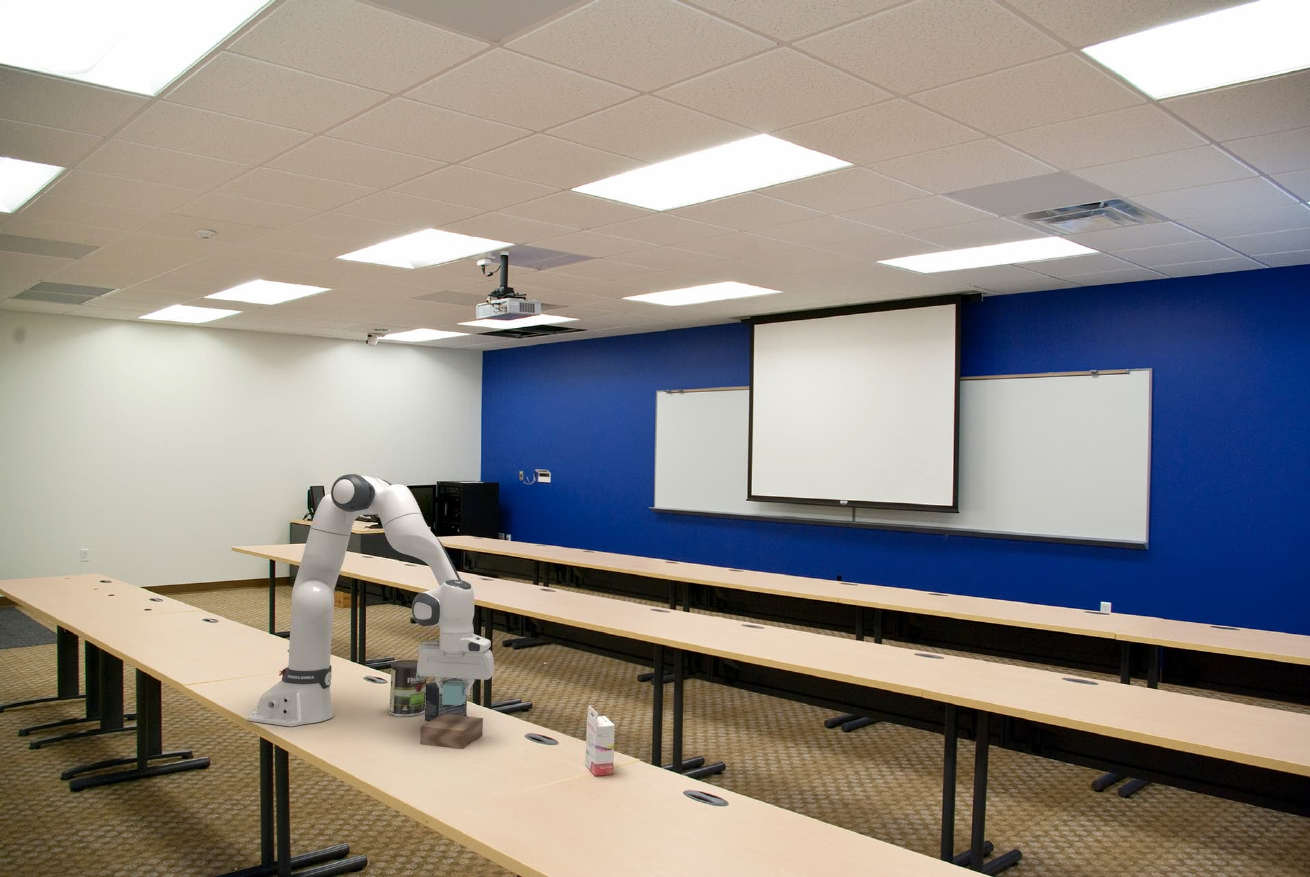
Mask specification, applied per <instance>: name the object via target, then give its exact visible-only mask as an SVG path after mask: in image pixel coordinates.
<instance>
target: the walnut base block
mask: <svg viewBox="0 0 1310 877" xmlns="http://www.w3.org/2000/svg"><path fill="white" fill-rule="evenodd" d="M483 724H484V718H483V717H476V716H468V715H467V716H460V715H450V714H441V715H439V716H438V717H436V718H434V719H432V720H430V721H429V722H428V721H426V722H425V723H424V724H422V725H420V733H419V734H420V735H419V745H423V746H432V747H439V748H440V747H442V748H449V749H458V750H464V749H465V748H466V747H468V746H469V745H470V744H472V743H473V742H475V741H477V740H478V739H479V738H481V737H482V736H483V733H484V732H483V731H484V730H483V728H484V725H483Z"/></svg>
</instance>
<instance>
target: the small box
mask: <svg viewBox="0 0 1310 877" xmlns="http://www.w3.org/2000/svg"><path fill="white" fill-rule="evenodd" d="M441 681H442V683H443V685H444V684H445V683H446V682H448V681H466V679H462V678H447V679H442V680H441ZM467 701H468V696H467V697H466V701H465V702H464V703H463V704H462V705H443V704H442V694H439V687H438V685H437V683H436V682H435V681H434V682H429V683H426V695H425V712H424V721H426V722H429V721H430V720H432V719H434V718H436V717H438V716H439V715H441V714H450V715H460V716H468V713H467V711H468V710H467V708H468V707H467V705H468V704H467V703H468V702H467Z"/></svg>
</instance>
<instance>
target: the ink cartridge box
mask: <svg viewBox="0 0 1310 877" xmlns="http://www.w3.org/2000/svg"><path fill="white" fill-rule="evenodd" d="M592 714H593V716H592ZM615 728H616V724H614V722H612V721H611V720H610V719H609V718H608V717H607V716H605V715H601V716H599V713H598V712H597V711H596V709H594V708H593V707H592V706H591V705H588V707H587V718H586V738H585V762H584V764H585V766H586V768H587V769H588V770H589V771H590V773H591V774H592V775H593V776H595V777H597V776H608V775H609V776H610V775H614V758H615V757H614V756H615V755H614V754H615V752H614V751H615V734H616V733H615V732H616V730H615Z"/></svg>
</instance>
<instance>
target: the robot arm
mask: <svg viewBox="0 0 1310 877" xmlns="http://www.w3.org/2000/svg"><path fill="white" fill-rule="evenodd" d="M422 513H423V512H421V509H420V506H419V505H418V502H417V500H416V498H415V497H414V495H413V493H412V491H411V490H410V488H409V487H407V486H406V485H404V484H401V483H400V484H399V483H397V484H392V483H391V482H389V481H387V480H385V479H381V478H378V477H376V476H371V475H359V474H356V473H350V474H349V473H348V474H345V475H344V474H343V475H341V476H340V477H338V478H337V479H336V480H335V481H334V482H333V484H332V486H331V488H330V493H328V494H325V495H324V496H323V497H322V498H321V500H320V502H319V503H318V506H317V509H316V511H315V512H314V515H313V518H312V522H311V525H310V528H309V532H308V535H307V539H306V543H305V547H304V551H303V553H302V557H301V561H300V564H299V566H298V570H297V573H296V577H295V581H294V584H293V588H292V591H291V611H290V612H291V615H290V630H289V645H288V647H289V648H288V649H289V650H288V666H287V667H285V668H283V669H282V670H280V671H279V673H278V676H282V677H281V680H280V681H279V682H277V683H276V684H274V685H273V686H272V687H270V688H269V689H268V690H267V691H265V692H264V693H263V694H262V695H261V696H260V698H259V701H258V705H257V708H256V710H254V711H252V712H250V713H249V714H248V717H247V721H249V722H255V723H263V724H269V725H270V724H271V725H277V726H283V727H296V726H300V725H307V724H315V723H320V722H324V721H327V720H329V719H331V718H333V717H334V716H335V713H334V709H333V705H332V698H331V683H332V677H333V676H332V669H333V668H332V665H331V655H332V653H331V651H332V638H333V637H332V635H333V626H334V614H335V613H334V612H335V595H334V592H335V588H336V586H337V581H338V578H339V576H340V573H341V570H342V567H343V563H344V561H345V557H346V553H347V549H348V545H349V543H350V537H351V534H352V530H353V526H354V523H355V521H356V519H358V517H360V516H363V517H364V518H369V517H377V516H378V518H379V519H380V522H381V525H382V529H383V531H384V534H385V538H386V540H387V542H388V543H389V545H390V546H391V548H392V549H394V550H395V551H396V552H398V553H401V554H404V555H407V556H411V557H414V558H416V559H418V560H421V561H422V562H425V563H426V564H427V565H428V566H429V568H430V569H431V571H432V573H433V576H434V577H435V579H436V581H437V584H438V587H435V588H432V589H430V590H429V589H428V590H426V591H422V592H420V593H418V594H416V596H415V597H414V599H413V601H412V603H411V604H412V605H411V613H412V617H413V620H414V621H415V622H416V623H417V624H418V625H419V626H421V627H427V628H429V627H430V628H431V627H435V626H438V627H439V639H438V640H430V641H429V640H423V642H420V643H419V644H418V647H417V655H418V659H417V660H418V664H417V673H418V675H419V676H423V677H426V678H428V677H429V678H435V680H434V682H436V683H437V685H438V687H439V694H442V690H443V683H442V681H443V680H444V678H447V679H452V678H457V679H462V680H466V679H467V680H466V681H467V687H465V688H463V695H466V696H467V697H468V696H470V694H471V688H472V686H473V684H474V683H475V681H476V680H485V681H486V680H490V679H491V677H493V676H494V672H495V665H494V654H493V652H492V650H491V649H489V648H491V646H492V645H491V644H492V643H491V640H490V639H488V638H486V637H483V636H480V635H478V634H475V633H474V631H475V630H474V626H473V619H474V616H475V594H474V589H473V588H474V587H473V586H472V584H471V583H470V582H468V581H465V580H462V579H461V577H460V575H459V573H458V571H457V569H456V567H455V565H454V564H453V561H452V559H451V558H450V555H449V553H448V551H446V548H445V547H444V545H443V543H442V541H440V539H439V538H438V537H437V536H435V534H434V533H433V532H432V531H431V529H430V528H429V527H428V524H427V523H426V520H425V519H424V516H423V514H422Z"/></svg>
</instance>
